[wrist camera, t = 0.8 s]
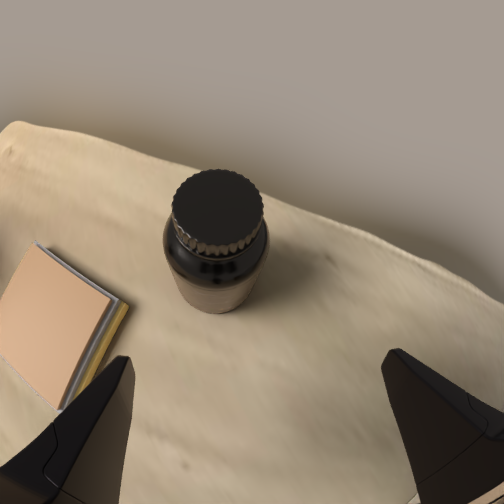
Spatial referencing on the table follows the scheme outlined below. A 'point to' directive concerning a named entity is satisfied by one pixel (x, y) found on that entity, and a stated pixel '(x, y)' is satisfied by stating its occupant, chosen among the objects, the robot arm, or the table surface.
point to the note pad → (55, 326)
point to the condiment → (415, 500)
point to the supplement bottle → (216, 239)
